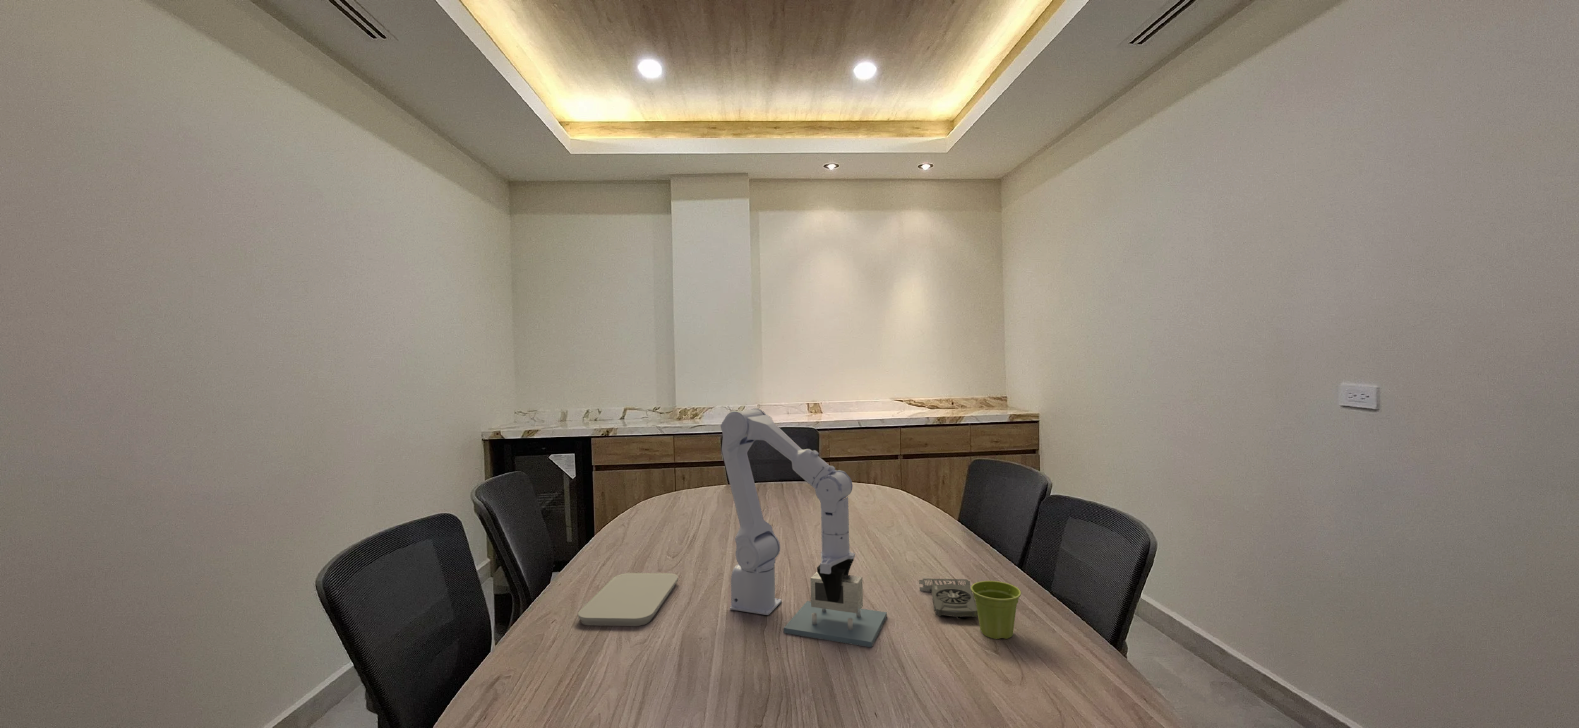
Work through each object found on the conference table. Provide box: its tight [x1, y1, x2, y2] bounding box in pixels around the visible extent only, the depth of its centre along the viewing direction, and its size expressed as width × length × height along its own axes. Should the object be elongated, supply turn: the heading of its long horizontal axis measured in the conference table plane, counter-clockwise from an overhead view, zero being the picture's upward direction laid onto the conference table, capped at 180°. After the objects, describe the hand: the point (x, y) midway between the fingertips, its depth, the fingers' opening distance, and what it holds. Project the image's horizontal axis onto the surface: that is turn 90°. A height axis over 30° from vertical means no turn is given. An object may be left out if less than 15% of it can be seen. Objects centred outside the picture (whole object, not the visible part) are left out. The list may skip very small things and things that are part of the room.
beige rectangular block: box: [810, 571, 864, 613], centre depth 120 cm, size 10×4×6 cm, turn 69°
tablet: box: [577, 572, 679, 627], centre depth 134 cm, size 16×26×2 cm, turn 176°
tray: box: [783, 600, 888, 648], centre depth 120 cm, size 18×14×3 cm
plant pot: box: [970, 580, 1022, 640], centre depth 115 cm, size 9×9×9 cm
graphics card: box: [918, 577, 978, 620], centre depth 129 cm, size 17×4×12 cm
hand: (836, 596), depth 120 cm, fingers closed on beige rectangular block, 4 cm apart
